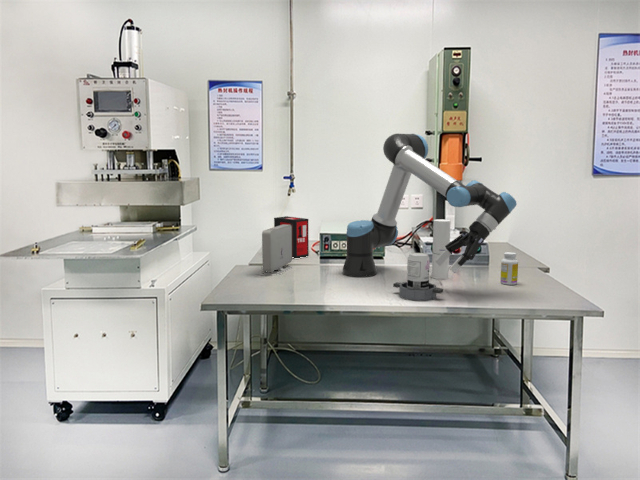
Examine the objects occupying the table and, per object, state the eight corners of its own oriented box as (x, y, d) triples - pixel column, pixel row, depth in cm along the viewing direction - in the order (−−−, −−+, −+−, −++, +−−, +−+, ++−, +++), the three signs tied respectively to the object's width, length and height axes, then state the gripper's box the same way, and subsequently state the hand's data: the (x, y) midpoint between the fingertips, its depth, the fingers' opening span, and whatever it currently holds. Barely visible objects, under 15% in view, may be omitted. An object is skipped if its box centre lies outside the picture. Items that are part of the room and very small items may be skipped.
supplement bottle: (517, 282, 231) (518, 252, 229) (517, 285, 225) (518, 255, 223) (500, 281, 233) (501, 251, 231) (499, 284, 227) (501, 254, 225)
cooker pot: (386, 296, 209) (387, 285, 208) (402, 288, 220) (402, 279, 219) (434, 303, 198) (434, 293, 198) (448, 295, 210) (448, 285, 209)
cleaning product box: (274, 255, 293) (274, 217, 290) (286, 253, 299) (286, 216, 296) (296, 259, 281) (295, 220, 278) (308, 256, 288) (308, 218, 285)
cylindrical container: (448, 279, 236) (450, 221, 233) (431, 278, 238) (433, 221, 234) (448, 275, 243) (450, 219, 239) (431, 275, 245) (433, 219, 241)
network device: (275, 276, 242) (274, 231, 238) (257, 275, 244) (256, 230, 241) (296, 265, 266) (296, 224, 262) (279, 264, 268) (279, 223, 265)
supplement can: (404, 290, 213) (405, 252, 211) (425, 290, 214) (426, 252, 211) (409, 296, 205) (410, 256, 203) (431, 295, 206) (432, 256, 203)
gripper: (505, 238, 199) (465, 280, 198) (474, 229, 223) (437, 267, 222) (492, 224, 197) (451, 267, 196) (462, 216, 221) (425, 254, 221)
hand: (444, 267), depth 209 cm, fingers open, 13 cm apart
